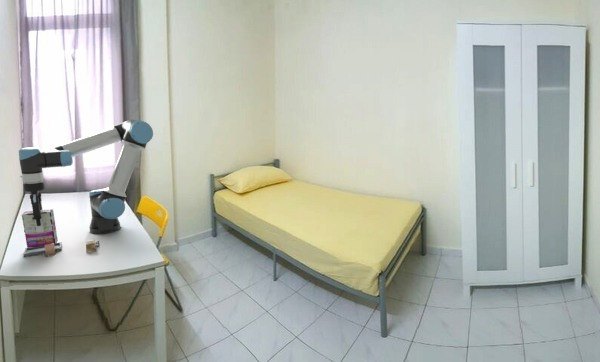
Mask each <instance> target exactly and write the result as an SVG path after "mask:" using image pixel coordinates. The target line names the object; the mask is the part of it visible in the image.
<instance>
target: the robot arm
mask: <svg viewBox="0 0 600 362" xmlns="http://www.w3.org/2000/svg"><path fill="white" fill-rule="evenodd" d="M153 137H154V131H153V128H152V126H151V124H149V122H146V121H144V120H140V119H138V120H137V119H136V120H135V119H129V120H126V121H123V122H121V123H118V124H116V125H112V126H111V127H110V128H108V129H106V130H103V131H100V132H97V133H94V134H91V135H87V136H84V137H81V138H78V139H75V140H72V141H69V142H66V143H63V144H59V145H57V146H53V147H47V148H44V150H43V151H41V150H40V148H38V147H23V148H20V149H19V150H18V159H19V165H20V172H21V175H20V178H22V182H23V183H22V184H23V185H22V186H23V191H25V192H26V193H28V192H30V194H29V199H30V203H31V208H32V211H33V216H34V217H33V218H32V220H35V227H36V233H38V232H44V229H43V222H42V217H41V211H40V210H43V206H42V205H43V204H42V193H41V192H40V191H43V190H45V189H46V188H45V182H44V172H43V169H47V168H61V167H63V168H65V167H70V166H72V165H73V157H74V158H75V157H77V156H80V155H83V154H86V153H88V152H92V151H95V150H98V149H100V148H103V147H106V146H108V145H109V146H110V145H112V144H115V143H119V144H121V143H123V146H122V149H121V151H120V154H119V157H118V159H117V162H116V164H115V167H114V169H113V171H112V174H111V176H110V180H109V182H108V185H107V187H105V188H99V189H93V190H91V191H89V196H88V198H89V203H90V204H89V205H90V211H91V212H90V213H91V220H90V223H89V228H88V229H89V233H91V234H99V235H100V234H108V233H114V232H116V231H118V230H120V228H121V222H120V220H119V218H120V217H121V216H122V215H123V214H124V213H125V210H126V204H125V201H126V199H127V194H126V190H127V189H128V185H129V182H130V180H131V177H132V174H133V172H134V169H135V167H136V165H137V161H138V158H139V157H140V154H141V151H144V150H145V148H146V146H147V145H148V143H149V142H150V141H152V140H153Z"/></svg>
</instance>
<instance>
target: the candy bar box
mask: <svg viewBox="0 0 600 362" xmlns="http://www.w3.org/2000/svg"><path fill="white" fill-rule="evenodd" d="M40 211H41V217H42V222H43V229H44V232H38V233H36V227H35V220H32V218H33V217H34V216H33V210H30V211H24V212H23V213H22V214H21V217H22V218H21V219H22V224H23V230H24V235H25V241H26V248H29V247H38V246H44V245H45V244H48V243H54V244H56V243H58V234H57V233H58V231H57V225H56V219H55V214H54V208H53V209H51V208H50V209H42V210H40Z"/></svg>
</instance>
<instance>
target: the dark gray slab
mask: <svg viewBox="0 0 600 362" xmlns="http://www.w3.org/2000/svg"><path fill="white" fill-rule="evenodd" d="M95 243H96V248H97V247H98V248H99V247H100V240H99V241H98V240H97V241H96V240H95Z"/></svg>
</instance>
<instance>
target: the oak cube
mask: <svg viewBox="0 0 600 362" xmlns="http://www.w3.org/2000/svg"><path fill="white" fill-rule="evenodd" d="M95 242H96V240H89V241H88V240H87V241H85V250H86V253H89V252H90V253H91V252H96V251H97V247H96V243H95Z"/></svg>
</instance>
